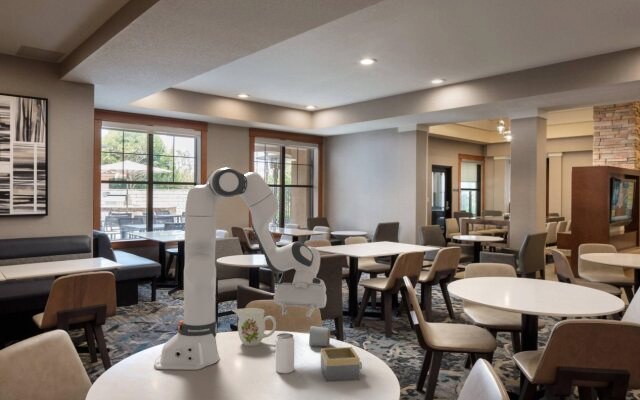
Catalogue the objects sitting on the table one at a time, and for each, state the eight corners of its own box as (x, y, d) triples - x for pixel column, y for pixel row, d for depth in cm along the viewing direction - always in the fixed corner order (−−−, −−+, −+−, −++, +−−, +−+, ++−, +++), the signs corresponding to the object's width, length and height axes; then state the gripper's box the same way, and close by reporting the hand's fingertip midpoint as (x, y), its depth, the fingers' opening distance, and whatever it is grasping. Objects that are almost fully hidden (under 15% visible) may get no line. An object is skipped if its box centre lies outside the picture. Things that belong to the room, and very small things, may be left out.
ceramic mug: (329, 348, 173) (329, 329, 173) (308, 348, 174) (309, 329, 174) (330, 340, 184) (330, 322, 184) (310, 340, 184) (311, 321, 184)
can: (297, 368, 154) (297, 333, 154) (289, 375, 148) (290, 339, 148) (280, 365, 156) (280, 331, 156) (272, 372, 150) (272, 337, 150)
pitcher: (275, 347, 175) (275, 312, 175) (229, 348, 173) (230, 313, 173) (276, 338, 186) (276, 306, 186) (233, 339, 184) (233, 306, 184)
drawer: (326, 381, 142) (326, 360, 142) (320, 368, 153) (320, 348, 153) (365, 379, 145) (365, 357, 145) (356, 366, 155) (357, 346, 155)
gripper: (276, 277, 173) (267, 308, 163) (327, 280, 167) (320, 312, 158) (280, 287, 177) (271, 317, 168) (330, 290, 172) (323, 321, 162)
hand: (295, 315), depth 163 cm, fingers open, 8 cm apart
